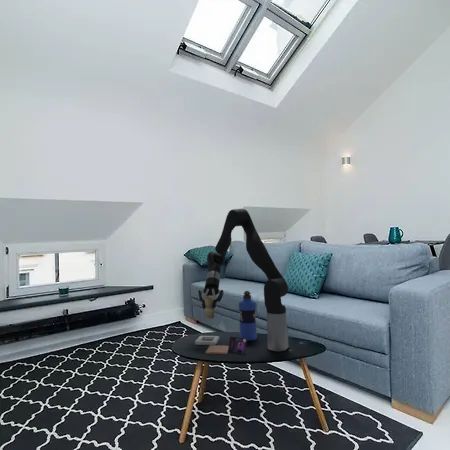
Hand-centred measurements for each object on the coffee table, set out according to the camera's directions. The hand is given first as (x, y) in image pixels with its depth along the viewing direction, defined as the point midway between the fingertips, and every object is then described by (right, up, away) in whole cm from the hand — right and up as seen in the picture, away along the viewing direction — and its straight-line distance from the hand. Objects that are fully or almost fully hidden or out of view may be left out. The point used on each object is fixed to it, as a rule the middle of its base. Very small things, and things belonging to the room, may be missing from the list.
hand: (208, 307), depth 170 cm
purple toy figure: (+15, -18, -12) cm, 26 cm away
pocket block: (-1, -19, +4) cm, 19 cm away
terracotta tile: (+5, -18, -10) cm, 21 cm away
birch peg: (0, -6, +2) cm, 6 cm away
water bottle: (+21, -19, +8) cm, 29 cm away
